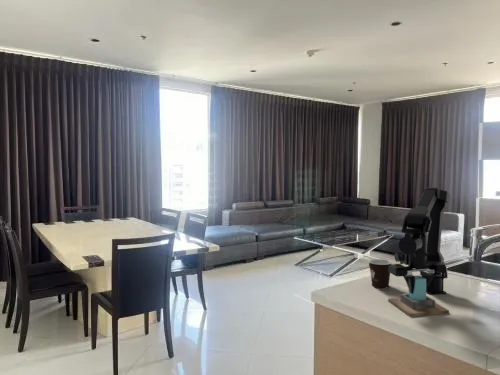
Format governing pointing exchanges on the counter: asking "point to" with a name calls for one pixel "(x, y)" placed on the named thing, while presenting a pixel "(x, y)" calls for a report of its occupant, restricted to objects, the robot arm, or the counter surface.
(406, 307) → the well block
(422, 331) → the counter surface
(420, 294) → the teal post
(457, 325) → the counter surface
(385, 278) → the coffee mug
